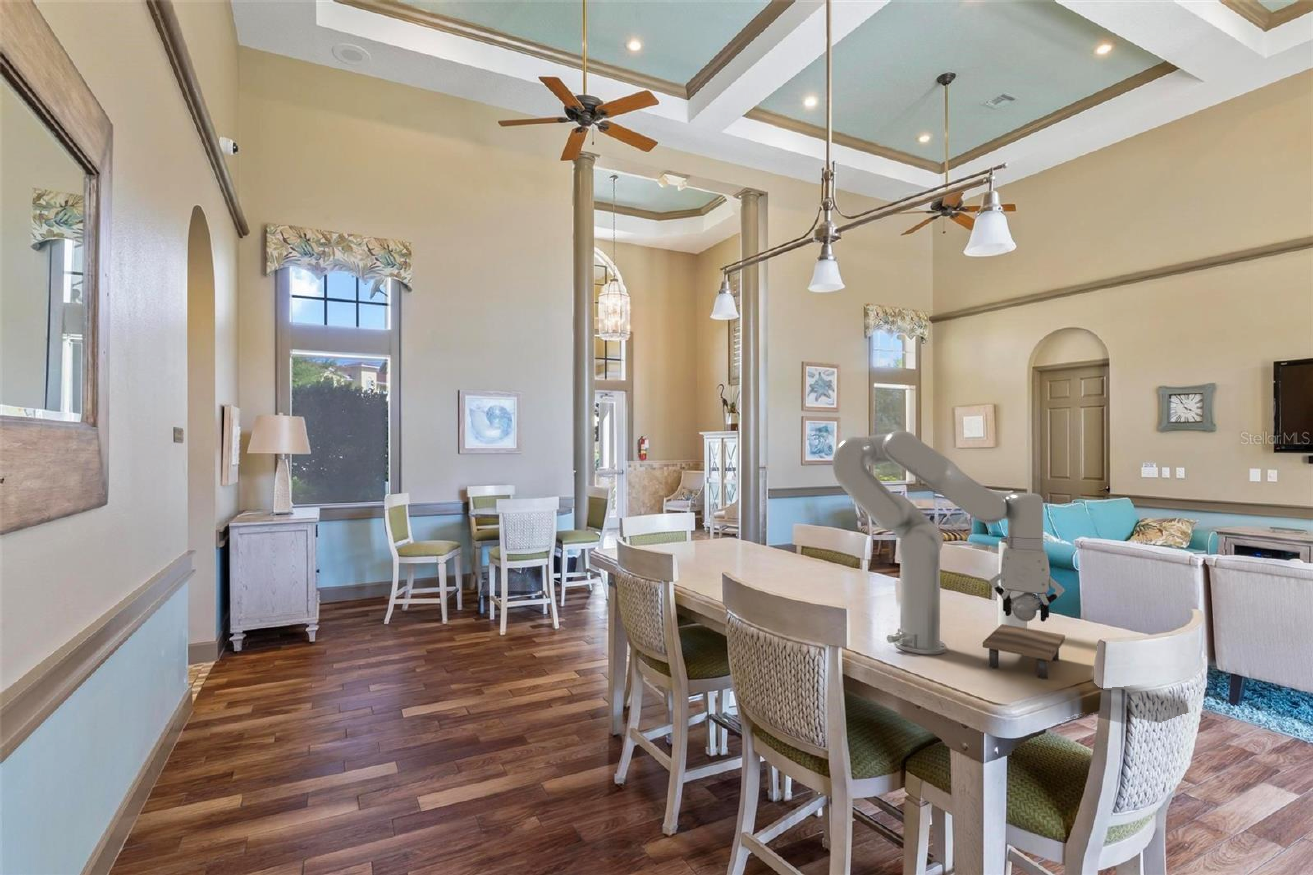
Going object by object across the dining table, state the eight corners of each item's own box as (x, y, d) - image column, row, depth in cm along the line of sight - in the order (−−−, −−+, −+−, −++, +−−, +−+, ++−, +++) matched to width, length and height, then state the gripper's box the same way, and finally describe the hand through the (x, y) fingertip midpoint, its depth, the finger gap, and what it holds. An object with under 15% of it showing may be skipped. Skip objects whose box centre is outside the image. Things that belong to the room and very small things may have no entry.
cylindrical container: (1025, 636, 175) (1025, 545, 175) (996, 631, 180) (996, 543, 180) (1028, 630, 181) (1029, 542, 181) (1000, 625, 185) (1001, 540, 185)
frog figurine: (1036, 626, 149) (1036, 596, 149) (1005, 620, 155) (1004, 591, 155) (1046, 622, 153) (1046, 592, 153) (1015, 616, 158) (1015, 587, 158)
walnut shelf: (1051, 682, 142) (1051, 655, 142) (982, 667, 151) (982, 642, 151) (1064, 659, 157) (1064, 635, 157) (1001, 647, 166) (1001, 624, 166)
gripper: (982, 542, 157) (982, 614, 157) (1065, 549, 146) (1065, 627, 145) (989, 538, 162) (989, 608, 162) (1069, 545, 151) (1070, 620, 151)
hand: (1025, 617), depth 154 cm, fingers closed on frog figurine, 6 cm apart
